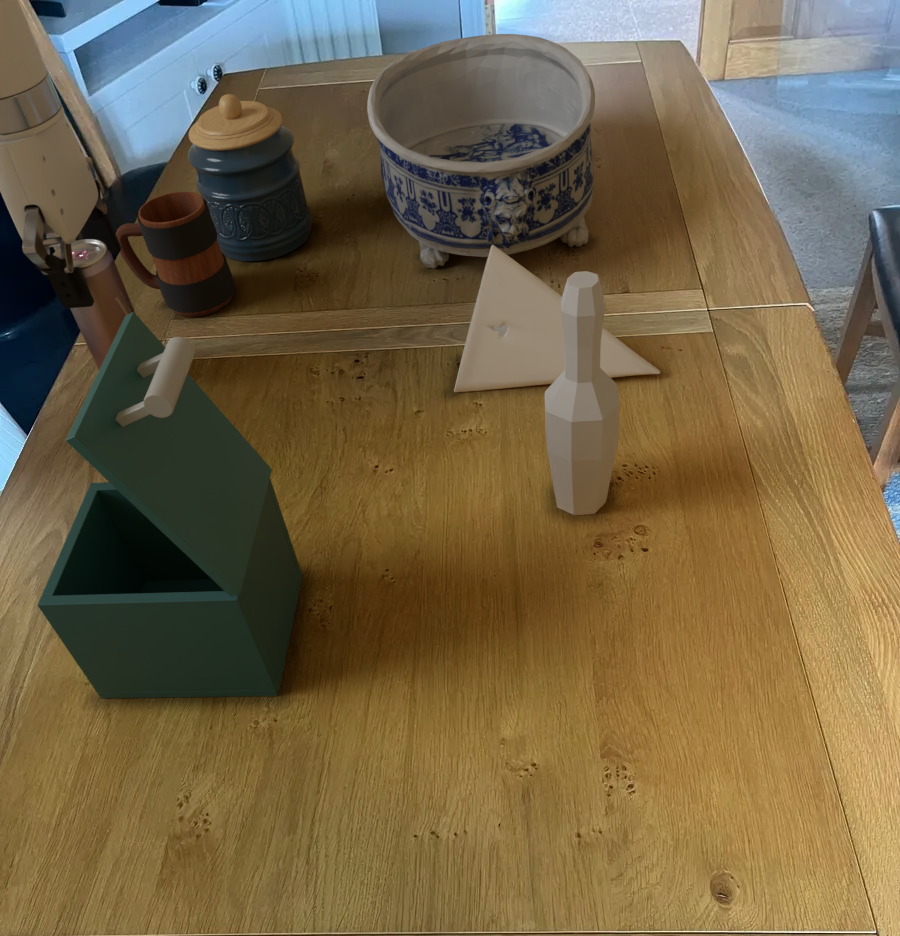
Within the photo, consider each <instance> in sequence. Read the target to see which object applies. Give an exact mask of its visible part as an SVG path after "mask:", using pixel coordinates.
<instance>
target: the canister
mask: <svg viewBox="0 0 900 936" xmlns="http://www.w3.org/2000/svg"><path fill="white" fill-rule="evenodd" d="M294 137H295V136H294V134H293V133H292V131H291V130H290V129H289V128H288V127H286V126H284V125H283V117H282V115H281V113H280V112H279V111H278V110H277V109H275V108H273V107H269V106H266V104H264V103H262V102H259V101H255V100H254V101H253V100H240V99H239V98H238V97H237V96H236V95H235V94H233V93H227V94H224V95H222V96H221V97H220V99H219V101H218V105H217V106H214V107H211V108H210V109H207V110H206V111H204V112H203V113H202V114H201V115H200V116H199V118H198V119H197V120H196V122H195V123H193V125H192V126H191V127H190V129H189V132H188V139H189V141H190V143H192V145H191V146H190V148H189V150H188V153H187V159H188V162H189V163H190V165H191V166H192V167H193V168H194V169H195V171H196V175H197V177H196V183H195V184H196V188H197V190H198V192H199V193H200V196H201V197H202V198H203V199H205V201H206V202H207V205H208V208H209V212H210V215H211V218H212V220H213V223H214V226H215V229H216V231H217V241H218V244H219V247H220V250H221V252H222V253H223V254H224V256H225V257H226V258H230V259H232V260H236V261H241V262H261V261H266V260H272V259H276V258H279V257H282V256H284V255H287V254H289V253H291V252H294V251H295V250H297V249H299V248H300V247H301V246H302V245H303V244H304V243H306V242H307V240H308V239H309V238H310V236H311V234H312V231H313V230H312V215H311V209H310V207H309V205H308V202H307V197H306V194H305V193H306V192H305V189H304V184H303V180H302V175H301V171H300V168H301V165H300V161H299V160H298V158H297V157H296V156H295V155H294V152H293V149H292V148H293V146H294V141H295V138H294Z"/></svg>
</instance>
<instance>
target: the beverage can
mask: <svg viewBox="0 0 900 936" xmlns="http://www.w3.org/2000/svg"><path fill="white" fill-rule="evenodd" d="M71 249H72V257H73V265H74V267H79V269H80V271H81V273H82V275H83V277H84V280H85V282H86V284H87V286H88V288H89V290H90V293H91V295H92V297H93V299H94V303H93V305H92V306H91V307H79V308H69V310H70V311H71V314H72V315H73V318H74V320H75V322H76V324H77V327H78V329H79V331H80V333H81V335H82V337H83V339H84V342H85V344H86V346H87V348H88V351H89V352H90V354H91V356H92V358H93V361H94V363H95V366H96V367H97V370H98V371H99V369H100V367H101V365H102V363H103V361H104V359H105V357H106V355H107V353H108V351H109V349H110V347H111V345H112V342H113V340H114V338H115V336H116V334H117V332H118V330H119V328H120V326H121V324H122V322H123V320H124V318H125V316H126V315H128V314H130V313H132V312H135V314H136V311H135V308H134V306H133V303H132V301H131V298H130V296H129V294H128V291H127V288H126V287H125V284H124V281H123V279H122V277H121V274H120V272H119V268H118V266H117V264H116V261H115V259H114V256H113V254H111V253H110V252H109V250H108V249H107V247H106V245H105V243H103V242H102V241H100V240H95V239H85V238H83V239H78V240H74V241H73V242H72V243H71ZM52 254H53V255H55V256H57V257H59V258H61V251H60V247H59V248H58V249H57V250H55V251H54V252H53V253H52ZM136 315H137V314H136Z"/></svg>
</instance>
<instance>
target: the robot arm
mask: <svg viewBox="0 0 900 936" xmlns="http://www.w3.org/2000/svg"><path fill="white" fill-rule="evenodd" d="M100 185H101V184H100V183H99V181H98V180H97V175H96V170H95V166H94V161H93V159H92V158H91V157H90V156H85V155H84V152H83V149H82V148H81V145H80V143H79V142H78V139H77V137H76V135H75V133H74V131H73V128H72V127H71V126H70V124H69V122H68V120H67V117H66V115H65V109H64V107H63V104H62V102H61V99H60V97H59V95H58V92H57V90H56V88H55V85H54V83H53V80H52V78H51V76H50V73H49V72H48V68H47V66H46V63H45V61H44V59H43V56H42V54H41V52H40V49H39V46H38V44H37V42H36V40H35V36H34V34H33V32H32V30H31V28H30V25H29V23H28V20H27V17H26V15H25V13H24V10H23V8H22V6H21V4H20V1H19V0H0V194H1V197H2V199H3V201H4V204H5V206H6V208H7V211H8V213H9V215H10V217H11V219H12V222H13V224H14V226H15V228H16V231H17V233H18V235H19V236H20V239H21V240H22V246H21V249H22V252H23V255H25V257H27V259H28V260H29V261H31V262H32V265H33V266H34V268H35V269H36V270H38V271H40V272H41V273H42V275H43V276H47V279H48V280H49V283H50V284H51V286H52V289H53V290H54V292H55V295H56V297H57V298H58V300H59V303H60V305H61V307H63V308H64V309H70V308H79V307H91V306H92V305H93V303H94V299H93V297H92V295H91V293H90V290H89V288H88V286H87V284H86V282H85V280H84V277H83V275H82V273H81V271H80V269H79V267H74V265H73V257H72V249H71V243H72V242H74V241H76V239H77V237H78V236H79V235H80V233H82V236H83V239H95V240H100V241H102V242H103V243H105V245H106V247H107V249H108V250H109V252H110V253H111V254H112V255H115V254H120V251H121V246H120V243H119V241H118V239H117V236H116V232H115V230H114V226H113V224H112V222H111V219H110V217H109V215H108V214H107V211H108V207H107V204H106V202H105V201H104V200H103V199H102V194H101V186H100ZM47 234H56V235H59V236H56V237H55V236H54V237H47ZM55 247H59V248H60V251H61V258H59V257H57V256H55V255H53V254H54V253H51V250H50V249H51V248H55Z"/></svg>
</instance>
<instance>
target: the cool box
mask: <svg viewBox="0 0 900 936" xmlns="http://www.w3.org/2000/svg"><path fill="white" fill-rule="evenodd" d="M62 545H63V546H62V548H61V550H60V552H59V554H58V557H57V559H56V561H55V564H54V566H53V568H52V570H51V573H50V575H49V578H48V580H47V581H46V584H45V586H44V588H43V591H42V593H41V596H40V598H39V601H38V602H37V608H39V610H40V611H41V613H42V615H43V616H44V618H45V619H46V620H47V622H48V623H49V624H50V626H51V627H52V629H53V630H54V632H55V633H56V635H57V637H58V638H59V639H60V640H61V642H62V643H63V645H64V647H65V648H66V649H67V651H68V653H69V655H71V657H72V659H73V660H74V661H75V663H76V664H77V665H78V667H79V669H80V670H81V672H82V673H83V674H84V676H85V677H86V679H87V680H88V682H89V684H90V685H91V686H92V688H93V690H94V691H95V692H96V693H97V695H98V696H99V698H100V699H151V698H153V699H154V698H155V699H156V698H157V699H159V698H166V699H167V698H227V697H228V698H229V697H231V698H232V697H233V698H235V697H239V698H240V697H278V696H279V693H280V689H281V684H282V680H283V679H282V678H283V674H284V668H285V663H286V659H287V654H288V649H289V643H290V639H291V635H292V629H293V624H294V620H295V615H296V609H297V605H298V600H299V595H300V590H301V585H302V582H303V581H302V580H303V574H302V573H303V572H302V569H301V567H300V564H299V561H298V557H297V555H296V552H295V548H294V545H293V543H292V539H291V537H290V533H289V532H288V528H287V525H286V522H285V519H284V516H283V513H282V510H281V506H280V504H279V500H278V498H277V495H276V492H275V489H274V484H273V482H272V479H271V478H270V479H269V483H268V487H267V491H266V495H265V499H264V503H263V507H262V511H261V514H260V518H259V522H258V526H257V530H256V534H255V538H254V542H253V545H252V549H251V553H250V557H249V561H248V565H247V569H246V573H245V577H244V580H243V584H242V588H241V592H240V594H239V595H236V596H233V597H231V596H230V595H228V594H227V593H226V592H225V591H224V590H223V589H222V588H221V587H220V586H219V585H218V584H217V583H216V582H215V581H214V580H213V579H212V578H210V577H209V576H208V575H207V574H206V573H205V572H204V571H203V570H202V569H201V568H200V567H199V566H198V565H197V564H196V563H195V562H193V561H192V560H191V559H190V558H189V557H188V556H187V555H186V554H185V553H184V552H183V551H182V550H181V549H180V548H179V547H178V546H177V545H175V544H174V543H173V542H172V541H171V540H170V539H169V538H168V537H167V536H166V535H165V534H164V533H163V532H162V531H161V530H160V529H158V528H157V527H156V526H155V525H154V524H153V523H152V522H151V521H150V520H149V519H148V518H147V517H146V516H145V515H144V514H143V513H141V512H140V511H139V510H138V509H137V508H136V507H135V506H134V505H133V504H132V503H131V502H130V501H129V500H128V499H127V498H126V497H125V496H123V495H122V494H121V493H120V492H119V491H118V490H117V489H116V488H115V487H114V486H113V485H112V484H111V483H110V482H109V481H106V482H105V481H103V482H90V484H89V486H88V488H87V490H86V492H85V494H84V497H83V499H82V501H81V503H80V506H79V509H78V511H77V513H76V515H75V518H74V520H73V523H72V525H71V527H70V529H69V532H68V534H67V536H66V539H65V541H64V543H63V544H62Z"/></svg>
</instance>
